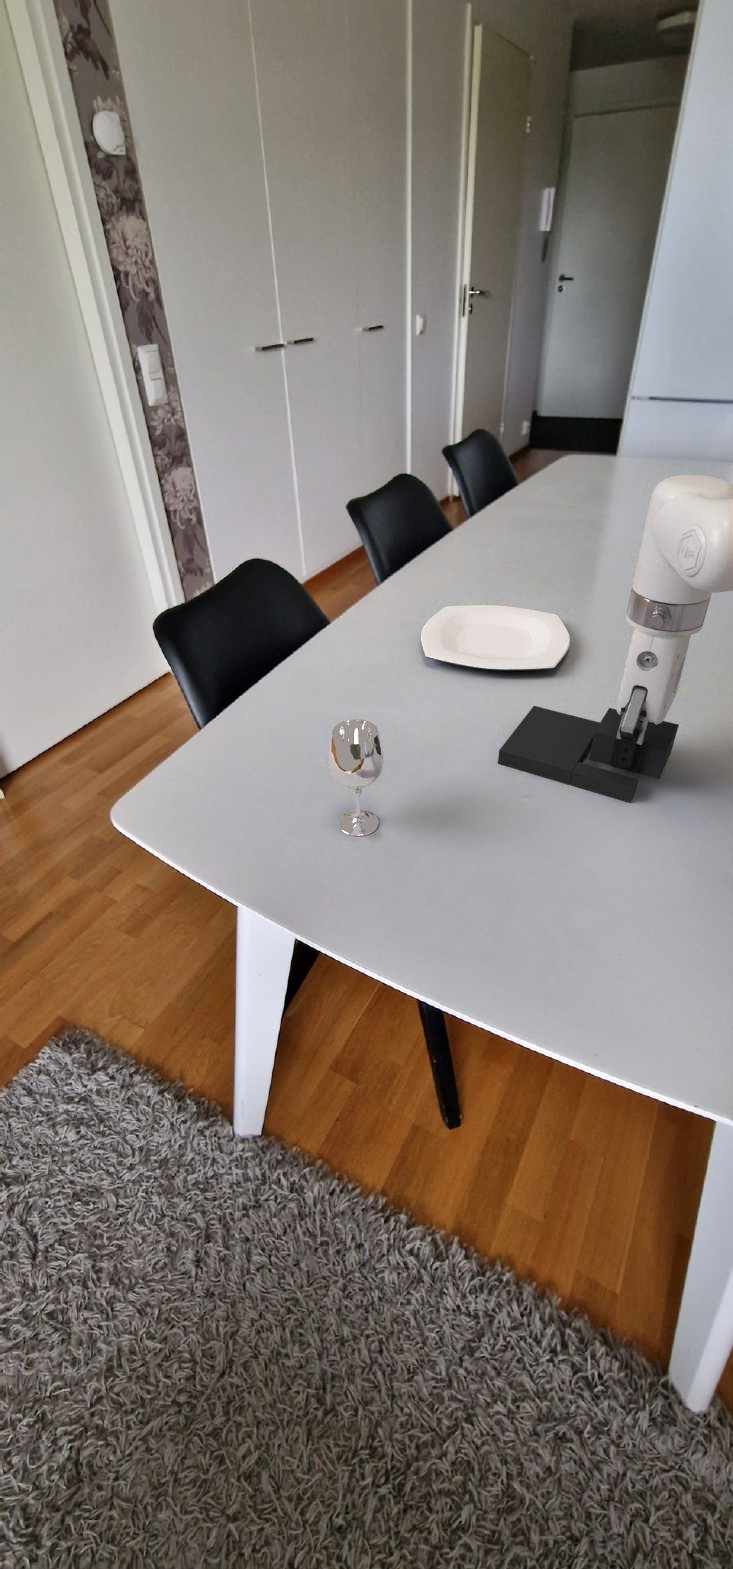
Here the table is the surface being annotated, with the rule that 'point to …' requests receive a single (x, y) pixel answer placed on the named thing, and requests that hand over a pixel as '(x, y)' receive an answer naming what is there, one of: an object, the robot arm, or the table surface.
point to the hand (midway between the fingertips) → (631, 752)
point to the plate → (495, 637)
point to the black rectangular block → (655, 738)
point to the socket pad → (562, 753)
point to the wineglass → (356, 769)
